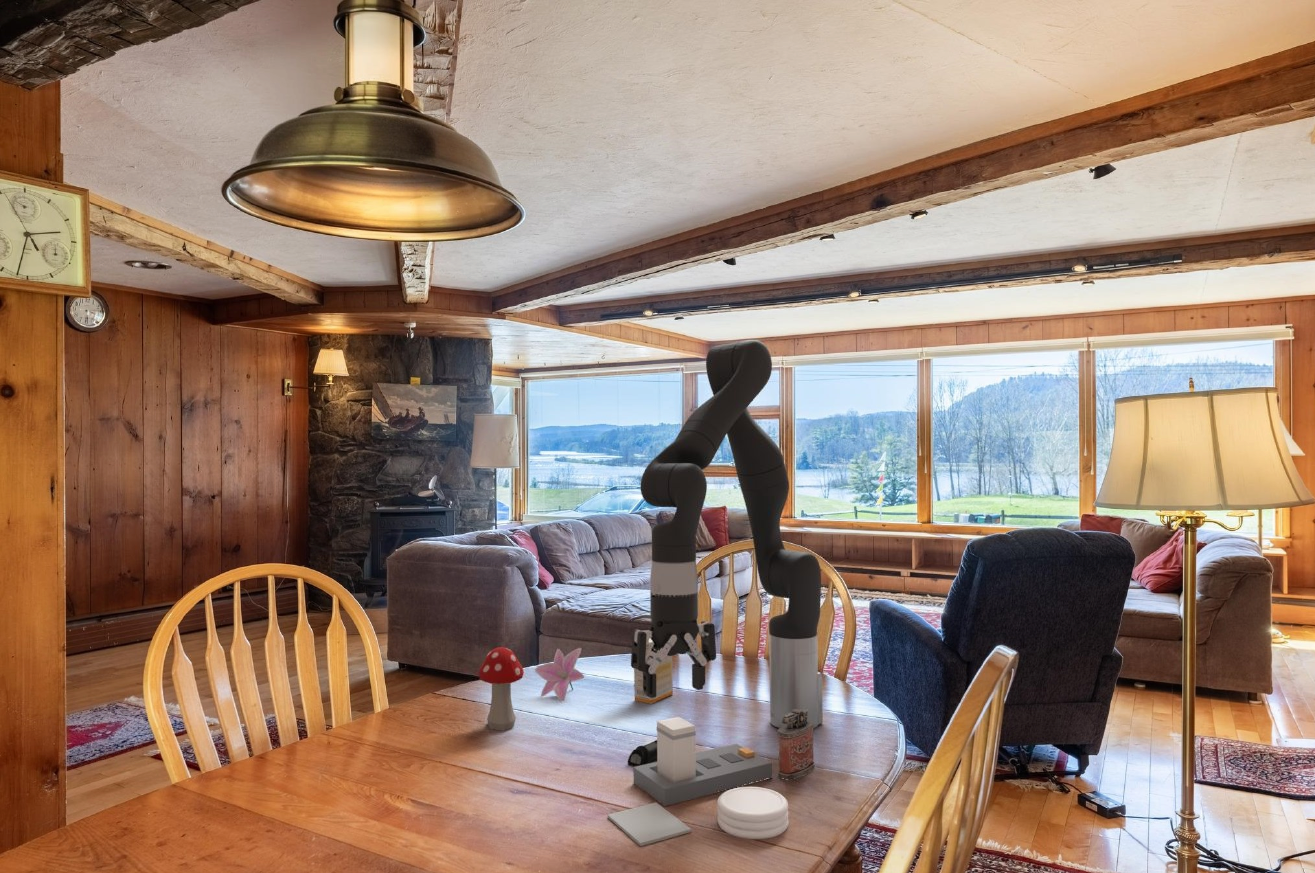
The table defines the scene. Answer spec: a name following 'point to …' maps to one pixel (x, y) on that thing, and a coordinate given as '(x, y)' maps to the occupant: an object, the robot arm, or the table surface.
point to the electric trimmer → (643, 754)
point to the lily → (560, 673)
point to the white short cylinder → (752, 812)
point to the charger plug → (676, 749)
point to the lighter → (796, 745)
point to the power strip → (705, 774)
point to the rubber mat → (649, 824)
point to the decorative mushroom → (501, 685)
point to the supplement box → (662, 680)
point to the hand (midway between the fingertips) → (674, 692)
